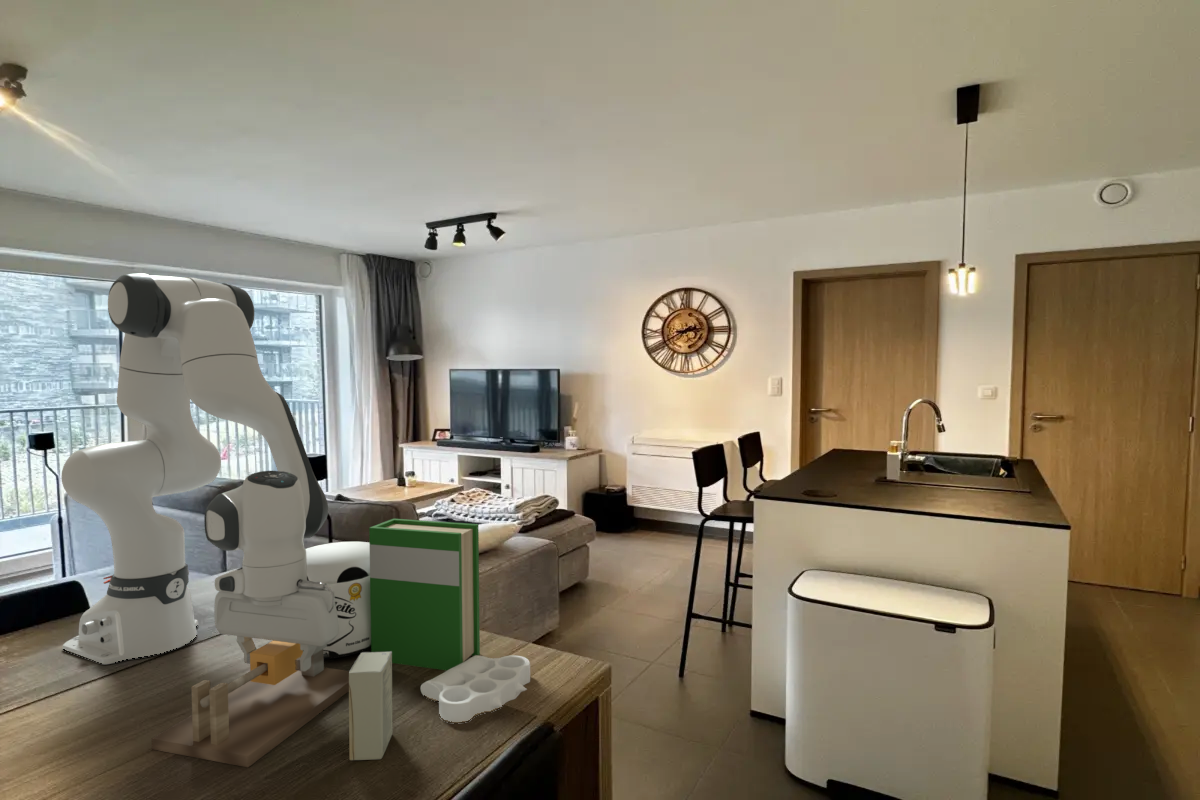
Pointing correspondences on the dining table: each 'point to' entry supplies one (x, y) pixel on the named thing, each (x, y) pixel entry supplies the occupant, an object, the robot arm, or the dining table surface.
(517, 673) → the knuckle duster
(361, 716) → the skincare box
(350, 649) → the milk container
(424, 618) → the hardback book
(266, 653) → the marker sleeve
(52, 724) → the dining table surface
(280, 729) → the board
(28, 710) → the dining table surface
